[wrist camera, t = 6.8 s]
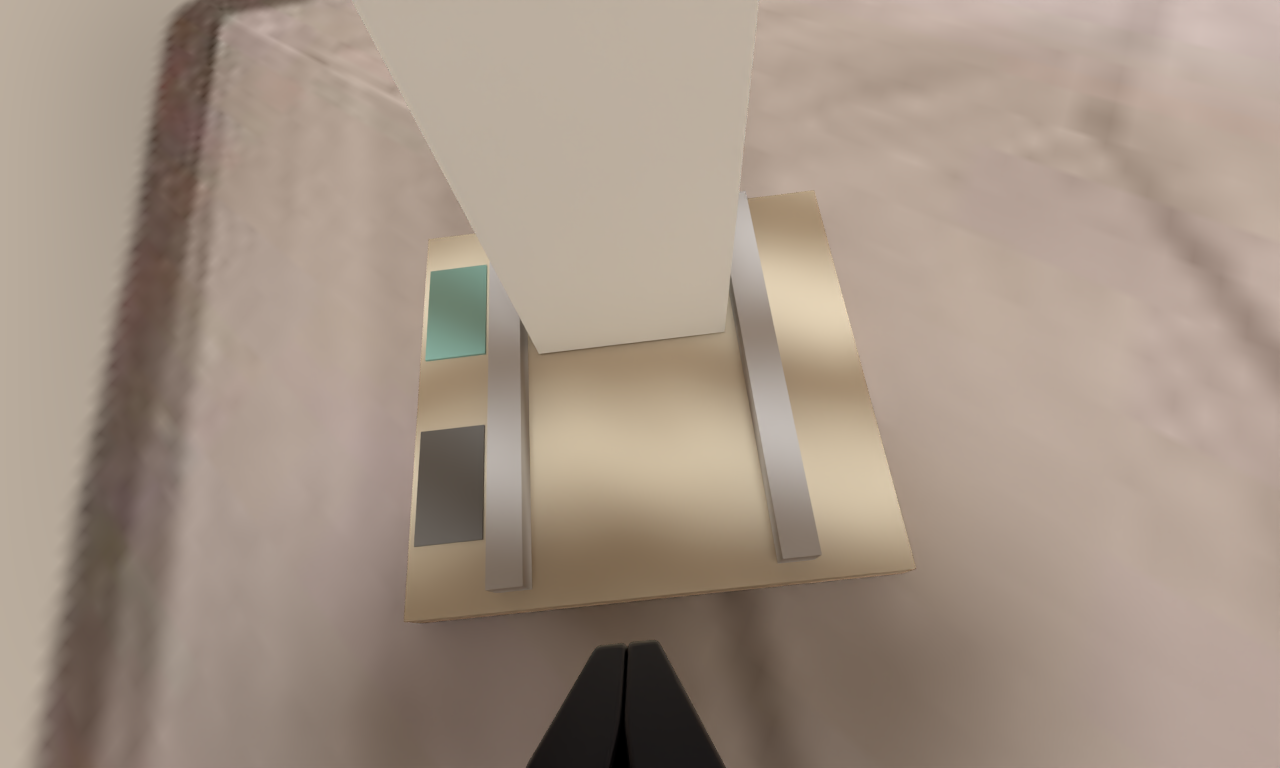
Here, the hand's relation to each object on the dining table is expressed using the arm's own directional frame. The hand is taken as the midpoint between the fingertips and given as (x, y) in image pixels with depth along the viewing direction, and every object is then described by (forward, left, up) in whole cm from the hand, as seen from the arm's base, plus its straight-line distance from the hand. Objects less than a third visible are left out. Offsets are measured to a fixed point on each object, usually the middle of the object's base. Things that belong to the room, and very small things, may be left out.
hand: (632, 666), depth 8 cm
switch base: (+7, +3, -9) cm, 12 cm away
